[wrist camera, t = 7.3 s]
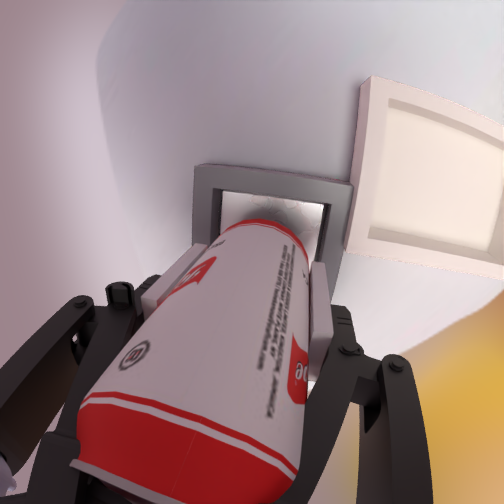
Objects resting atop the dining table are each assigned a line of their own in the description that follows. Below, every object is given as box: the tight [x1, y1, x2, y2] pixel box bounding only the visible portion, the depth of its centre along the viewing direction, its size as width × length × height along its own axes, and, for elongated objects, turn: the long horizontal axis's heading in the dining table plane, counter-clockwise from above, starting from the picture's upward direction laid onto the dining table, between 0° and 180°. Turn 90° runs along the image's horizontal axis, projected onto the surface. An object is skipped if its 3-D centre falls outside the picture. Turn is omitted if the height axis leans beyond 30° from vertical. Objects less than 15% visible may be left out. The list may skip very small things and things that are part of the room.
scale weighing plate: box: [220, 189, 324, 273], centre depth 21 cm, size 7×7×1 cm
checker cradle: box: [192, 164, 354, 304], centre depth 21 cm, size 13×11×2 cm
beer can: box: [69, 218, 309, 504], centre depth 11 cm, size 6×6×16 cm
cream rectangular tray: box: [343, 75, 504, 280], centre depth 16 cm, size 11×15×4 cm
